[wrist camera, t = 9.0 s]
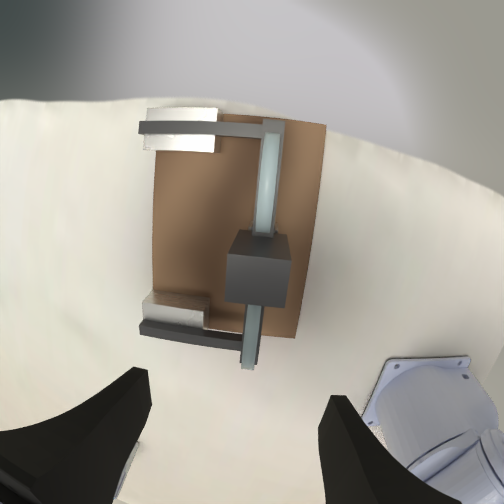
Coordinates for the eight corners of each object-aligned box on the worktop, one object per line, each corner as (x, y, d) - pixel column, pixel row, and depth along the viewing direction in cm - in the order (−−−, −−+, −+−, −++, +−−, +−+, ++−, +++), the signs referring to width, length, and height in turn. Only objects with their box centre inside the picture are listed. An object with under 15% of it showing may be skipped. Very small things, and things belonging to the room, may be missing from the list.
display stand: (323, 126, 17) (333, 120, 14) (294, 331, 21) (296, 355, 18) (165, 115, 17) (147, 107, 14) (159, 313, 21) (144, 333, 19)
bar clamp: (297, 127, 14) (309, 111, 10) (269, 348, 18) (267, 404, 13) (145, 120, 15) (98, 107, 10) (144, 330, 18) (112, 376, 14)
